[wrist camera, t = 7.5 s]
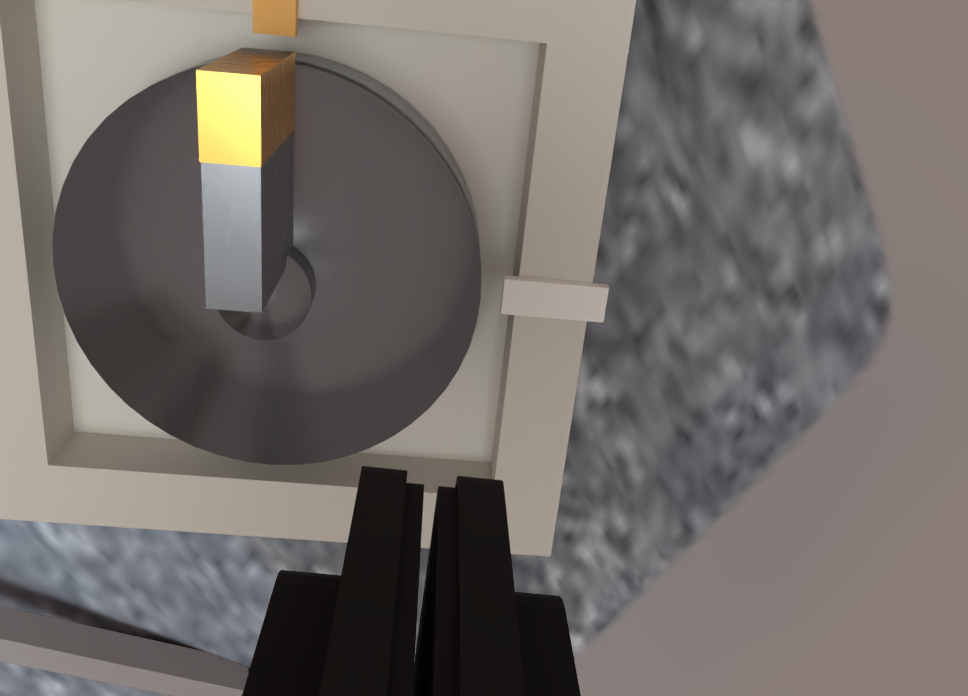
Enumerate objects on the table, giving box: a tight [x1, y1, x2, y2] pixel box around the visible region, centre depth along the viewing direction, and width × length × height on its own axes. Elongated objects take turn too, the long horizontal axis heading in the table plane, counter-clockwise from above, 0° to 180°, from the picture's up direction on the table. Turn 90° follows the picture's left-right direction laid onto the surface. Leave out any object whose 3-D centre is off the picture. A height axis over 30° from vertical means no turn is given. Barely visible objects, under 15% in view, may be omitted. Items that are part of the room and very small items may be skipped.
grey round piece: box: [52, 47, 481, 465], centre depth 23 cm, size 11×11×7 cm
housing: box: [0, 0, 636, 557], centre depth 26 cm, size 17×17×4 cm
